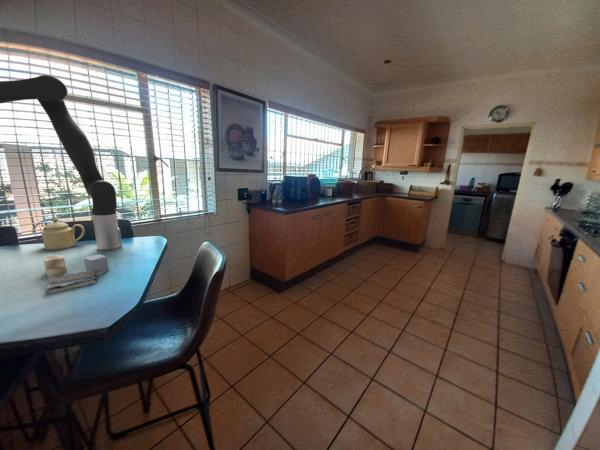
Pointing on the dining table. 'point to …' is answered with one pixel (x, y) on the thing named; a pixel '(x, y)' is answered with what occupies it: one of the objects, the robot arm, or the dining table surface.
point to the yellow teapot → (59, 235)
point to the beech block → (54, 265)
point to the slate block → (96, 264)
